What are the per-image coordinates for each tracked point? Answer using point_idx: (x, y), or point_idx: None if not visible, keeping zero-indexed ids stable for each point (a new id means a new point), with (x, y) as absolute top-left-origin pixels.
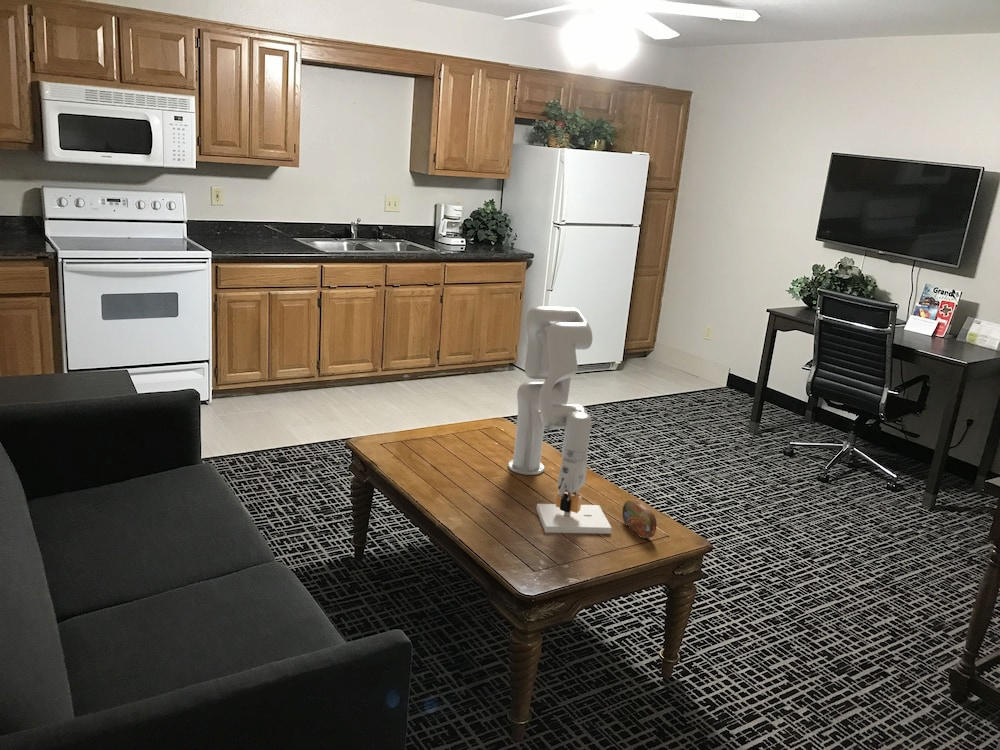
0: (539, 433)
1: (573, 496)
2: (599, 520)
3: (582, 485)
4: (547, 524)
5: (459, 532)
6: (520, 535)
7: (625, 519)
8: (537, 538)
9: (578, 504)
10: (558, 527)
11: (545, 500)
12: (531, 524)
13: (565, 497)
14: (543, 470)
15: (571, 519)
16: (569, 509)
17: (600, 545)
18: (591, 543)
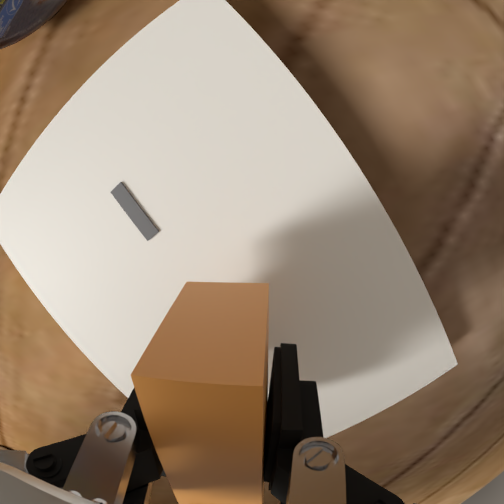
0: None
1: (217, 450)
2: (148, 98)
3: (28, 502)
4: (434, 370)
5: (493, 475)
6: (490, 393)
7: (27, 23)
8: (500, 338)
9: (247, 332)
10: (434, 310)
11: None
12: (387, 417)
13: (391, 494)
14: (2, 448)
15: (283, 289)
16: (297, 360)
17: (414, 13)
18: (430, 65)
